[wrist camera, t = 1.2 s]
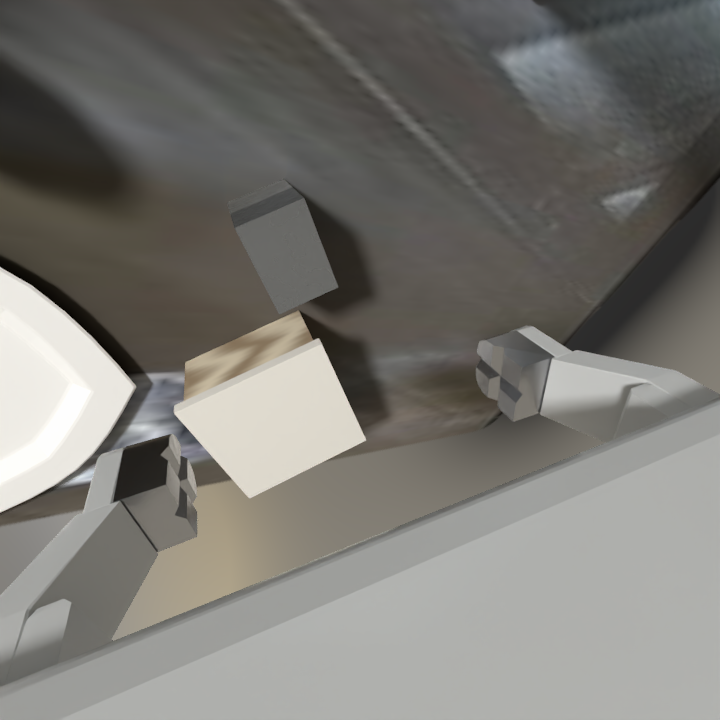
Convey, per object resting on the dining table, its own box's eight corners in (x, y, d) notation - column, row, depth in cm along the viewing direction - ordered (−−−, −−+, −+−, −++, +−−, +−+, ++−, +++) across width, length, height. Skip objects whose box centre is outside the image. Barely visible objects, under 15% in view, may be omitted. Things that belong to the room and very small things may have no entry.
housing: (283, 178, 33) (304, 198, 26) (314, 254, 37) (338, 287, 31) (227, 202, 32) (234, 228, 26) (264, 276, 36) (279, 314, 30)
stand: (301, 304, 39) (321, 343, 33) (343, 394, 47) (366, 440, 41) (177, 360, 38) (173, 413, 32) (242, 443, 46) (249, 498, 39)
